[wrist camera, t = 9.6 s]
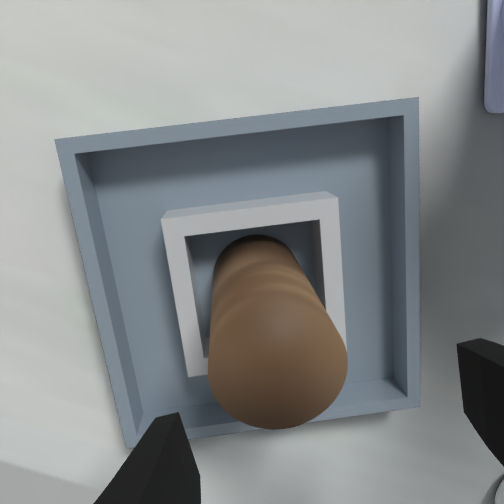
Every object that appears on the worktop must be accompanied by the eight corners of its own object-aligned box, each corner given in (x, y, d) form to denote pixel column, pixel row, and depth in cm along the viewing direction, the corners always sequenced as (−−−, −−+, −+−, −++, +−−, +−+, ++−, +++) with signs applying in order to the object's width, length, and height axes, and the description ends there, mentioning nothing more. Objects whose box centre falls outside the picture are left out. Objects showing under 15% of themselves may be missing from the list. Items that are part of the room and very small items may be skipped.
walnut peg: (291, 226, 19) (337, 290, 11) (305, 305, 20) (356, 413, 13) (204, 244, 19) (193, 321, 11) (223, 323, 20) (224, 441, 13)
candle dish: (393, 101, 19) (422, 96, 16) (398, 377, 23) (422, 410, 20) (76, 138, 18) (51, 139, 16) (136, 414, 22) (124, 453, 19)
